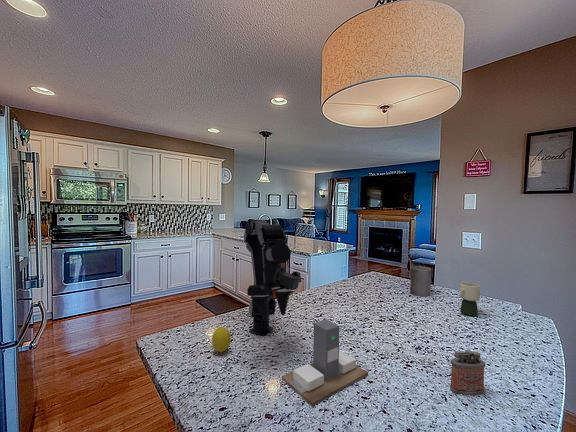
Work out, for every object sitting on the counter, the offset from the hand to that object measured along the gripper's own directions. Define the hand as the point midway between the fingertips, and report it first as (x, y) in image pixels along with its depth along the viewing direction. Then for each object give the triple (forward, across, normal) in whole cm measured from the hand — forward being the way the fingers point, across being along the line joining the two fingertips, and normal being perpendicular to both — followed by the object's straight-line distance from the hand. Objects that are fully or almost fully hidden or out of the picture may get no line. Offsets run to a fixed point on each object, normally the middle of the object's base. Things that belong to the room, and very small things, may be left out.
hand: (275, 317), depth 83 cm
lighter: (+19, +14, -46) cm, 52 cm away
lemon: (+10, -5, +17) cm, 21 cm away
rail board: (+15, +1, -15) cm, 21 cm away
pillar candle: (+4, +91, -31) cm, 96 cm away
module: (+14, +1, -15) cm, 20 cm away
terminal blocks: (+14, +1, -15) cm, 20 cm away
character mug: (+10, +72, -50) cm, 89 cm away
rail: (+15, +1, -15) cm, 21 cm away
